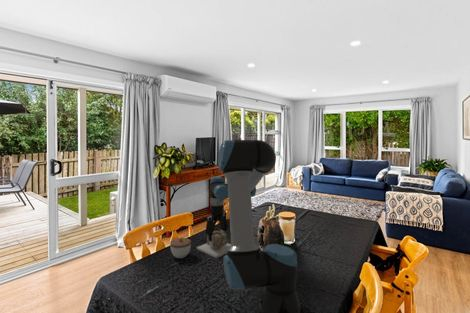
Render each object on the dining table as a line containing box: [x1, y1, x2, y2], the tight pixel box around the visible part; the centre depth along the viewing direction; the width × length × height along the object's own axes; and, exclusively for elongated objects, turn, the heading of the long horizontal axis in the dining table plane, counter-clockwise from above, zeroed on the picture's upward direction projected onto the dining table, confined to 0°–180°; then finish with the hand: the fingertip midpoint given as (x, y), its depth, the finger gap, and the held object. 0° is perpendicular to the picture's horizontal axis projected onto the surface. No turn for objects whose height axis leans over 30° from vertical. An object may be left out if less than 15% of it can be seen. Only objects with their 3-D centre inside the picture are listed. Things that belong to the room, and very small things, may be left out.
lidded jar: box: [169, 237, 192, 259], centre depth 140 cm, size 11×11×9 cm
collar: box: [206, 229, 228, 249], centre depth 148 cm, size 8×8×6 cm
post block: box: [196, 234, 231, 259], centre depth 149 cm, size 16×16×8 cm
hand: (216, 243), depth 149 cm, fingers closed on collar, 8 cm apart
